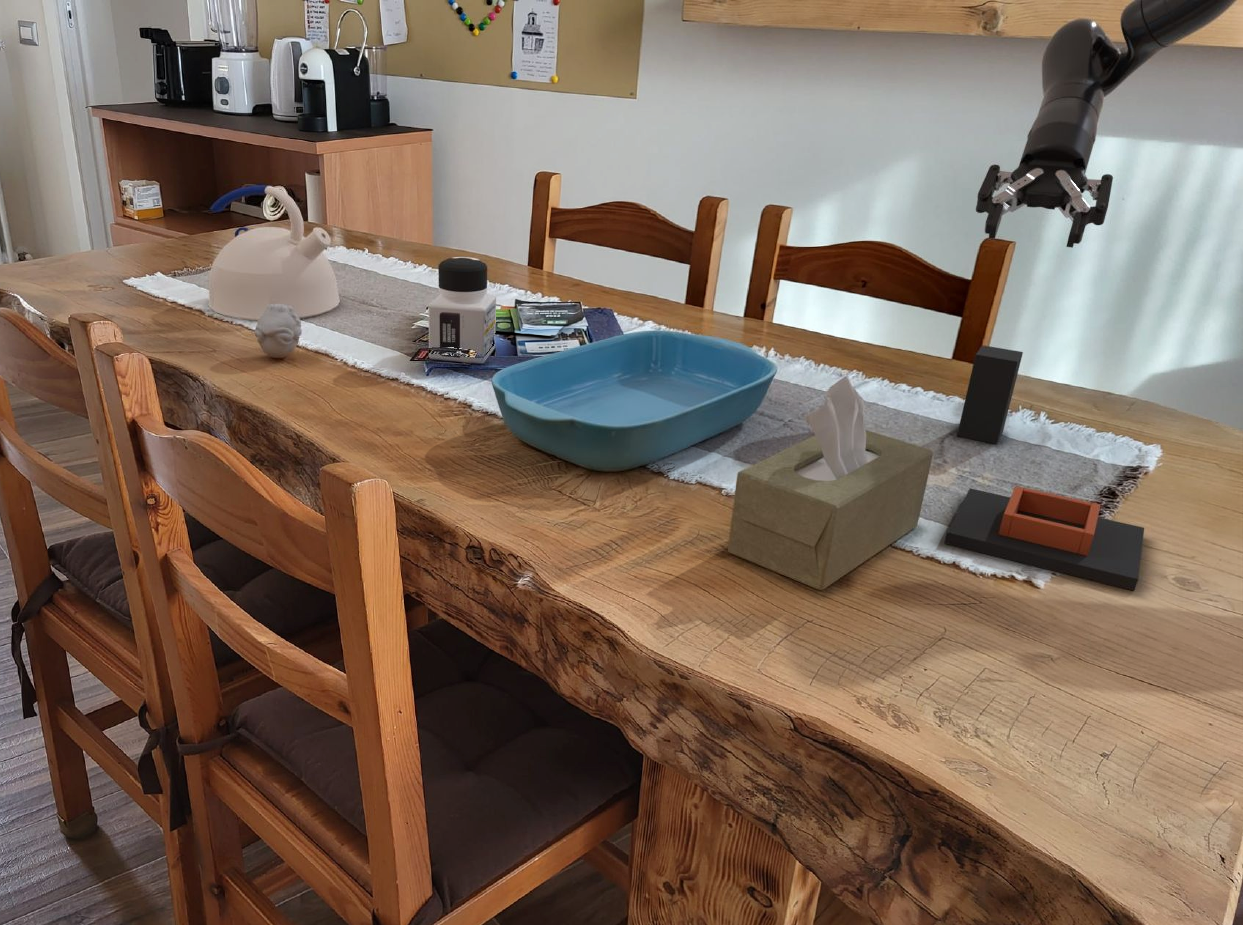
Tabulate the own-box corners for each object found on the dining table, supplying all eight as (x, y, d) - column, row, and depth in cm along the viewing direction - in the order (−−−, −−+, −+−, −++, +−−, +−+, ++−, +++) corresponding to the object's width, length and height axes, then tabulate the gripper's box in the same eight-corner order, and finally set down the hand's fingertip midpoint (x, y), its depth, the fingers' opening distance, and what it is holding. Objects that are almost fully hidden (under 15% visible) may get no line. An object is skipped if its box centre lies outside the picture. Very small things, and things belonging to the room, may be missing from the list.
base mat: (1140, 538, 100) (1151, 506, 98) (1134, 591, 90) (1145, 556, 89) (967, 498, 107) (974, 468, 105) (944, 543, 97) (952, 511, 96)
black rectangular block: (1002, 432, 124) (1023, 351, 120) (996, 444, 121) (1017, 361, 116) (963, 424, 126) (982, 345, 122) (956, 436, 123) (975, 354, 118)
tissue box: (828, 494, 106) (855, 344, 99) (918, 526, 100) (954, 369, 93) (724, 553, 94) (745, 387, 87) (819, 593, 88) (851, 418, 81)
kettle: (296, 328, 153) (287, 201, 144) (180, 310, 159) (164, 188, 151) (365, 297, 170) (360, 182, 161) (257, 282, 176) (247, 171, 168)
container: (483, 364, 140) (484, 268, 135) (428, 359, 142) (427, 264, 136) (495, 348, 147) (497, 256, 141) (442, 344, 148) (442, 252, 142)
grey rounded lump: (312, 351, 143) (308, 301, 140) (289, 366, 137) (286, 314, 134) (271, 347, 144) (267, 297, 141) (247, 361, 138) (242, 310, 135)
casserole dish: (600, 502, 103) (605, 435, 99) (452, 438, 116) (452, 377, 113) (801, 417, 126) (810, 360, 123) (658, 372, 140) (663, 320, 137)
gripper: (1116, 175, 128) (1091, 269, 122) (994, 164, 134) (963, 253, 127) (1130, 124, 122) (1104, 220, 115) (1001, 115, 128) (969, 206, 121)
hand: (1030, 237), depth 121 cm, fingers open, 8 cm apart
